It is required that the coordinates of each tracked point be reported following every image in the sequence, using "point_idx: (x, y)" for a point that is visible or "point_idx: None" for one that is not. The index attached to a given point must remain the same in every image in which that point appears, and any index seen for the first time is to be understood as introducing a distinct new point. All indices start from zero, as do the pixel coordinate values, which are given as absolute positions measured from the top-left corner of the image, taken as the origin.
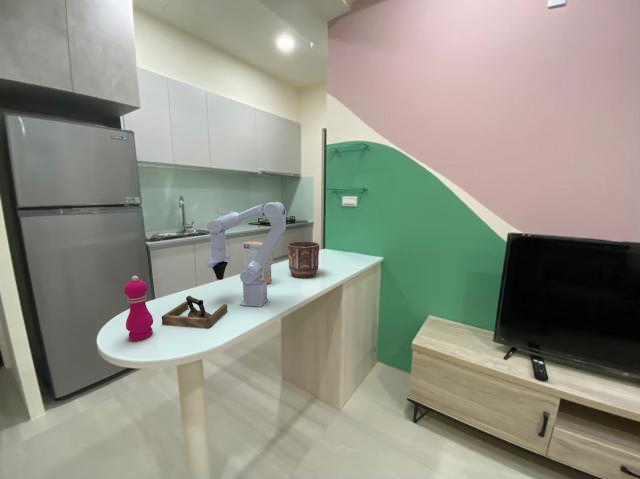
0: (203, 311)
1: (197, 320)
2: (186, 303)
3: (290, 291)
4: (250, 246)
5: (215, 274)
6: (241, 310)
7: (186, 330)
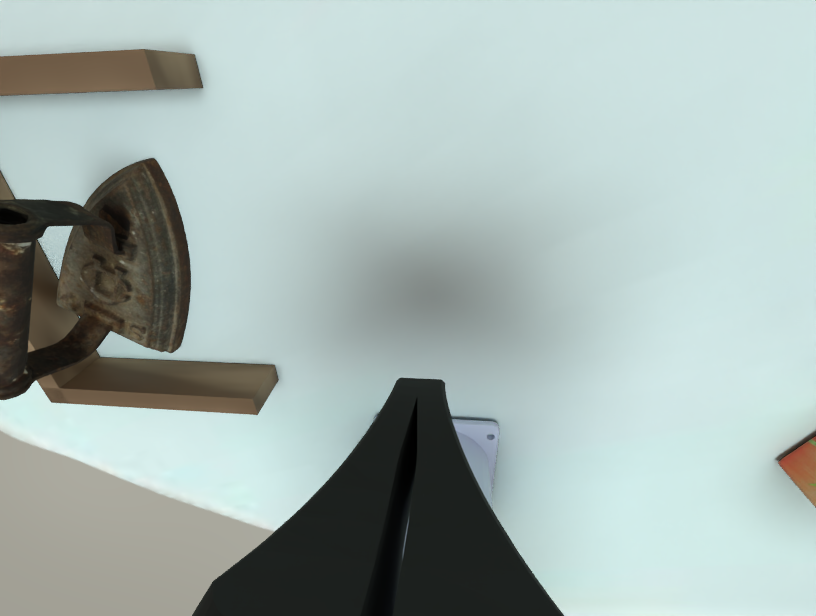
0: (67, 356)
1: None
2: (139, 88)
3: (621, 576)
4: None
5: (367, 431)
6: (318, 435)
7: None
